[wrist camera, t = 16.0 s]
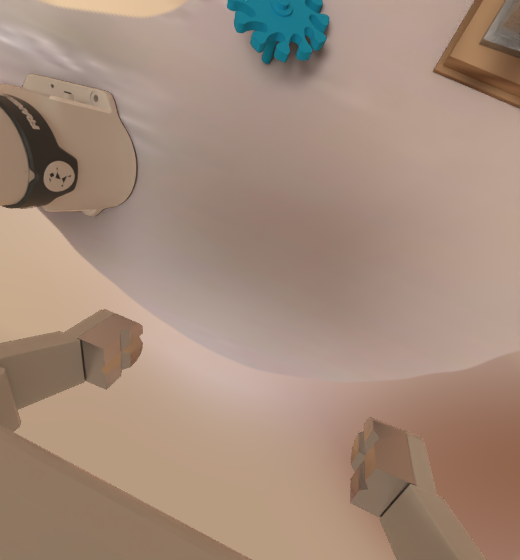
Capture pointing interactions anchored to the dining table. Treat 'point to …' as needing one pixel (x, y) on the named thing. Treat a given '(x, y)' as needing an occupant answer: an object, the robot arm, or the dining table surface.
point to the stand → (481, 57)
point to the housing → (505, 30)
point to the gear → (281, 26)
